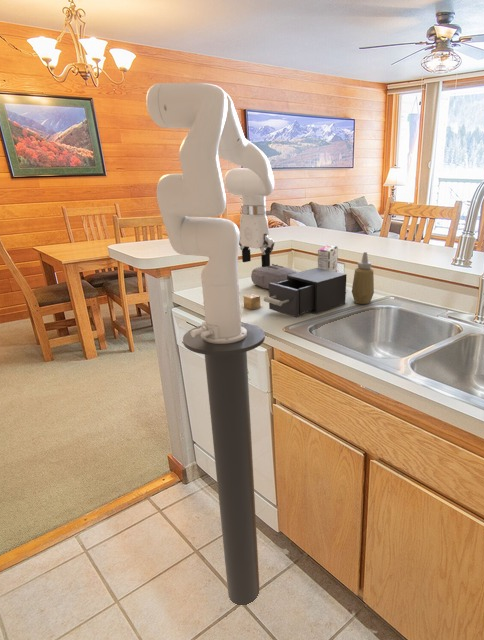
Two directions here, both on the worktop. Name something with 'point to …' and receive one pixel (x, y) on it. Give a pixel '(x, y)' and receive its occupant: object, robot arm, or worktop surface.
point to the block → (251, 301)
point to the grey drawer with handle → (291, 297)
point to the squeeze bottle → (363, 282)
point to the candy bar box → (328, 258)
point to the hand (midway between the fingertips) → (256, 264)
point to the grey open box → (324, 287)
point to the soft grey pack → (270, 275)
